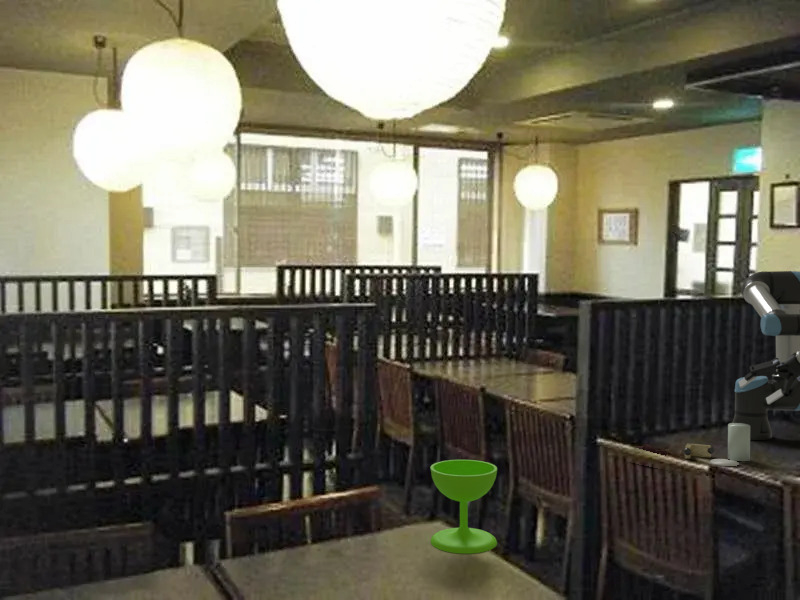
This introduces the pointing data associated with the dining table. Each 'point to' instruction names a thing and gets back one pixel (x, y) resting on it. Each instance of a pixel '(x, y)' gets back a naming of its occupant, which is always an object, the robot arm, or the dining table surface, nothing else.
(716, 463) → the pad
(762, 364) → the robot arm
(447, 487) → the wineglass
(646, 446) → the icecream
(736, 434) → the tall sage cylinder
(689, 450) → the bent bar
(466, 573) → the dining table surface
